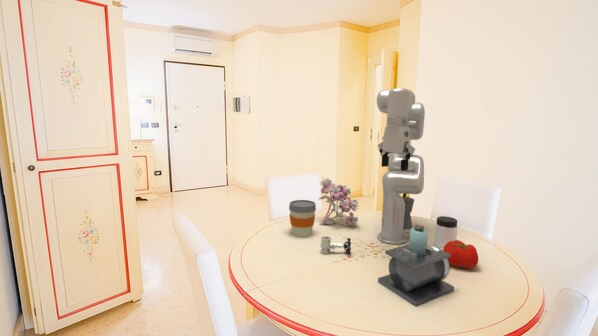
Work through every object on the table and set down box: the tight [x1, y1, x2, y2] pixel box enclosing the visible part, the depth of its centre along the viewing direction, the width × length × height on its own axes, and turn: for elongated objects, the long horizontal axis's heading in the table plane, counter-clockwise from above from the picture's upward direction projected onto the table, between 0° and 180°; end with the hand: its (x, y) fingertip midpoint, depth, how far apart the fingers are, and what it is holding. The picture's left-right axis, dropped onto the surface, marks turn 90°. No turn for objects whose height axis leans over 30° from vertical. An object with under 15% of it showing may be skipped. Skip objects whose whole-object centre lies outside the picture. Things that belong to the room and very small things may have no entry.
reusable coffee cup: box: [288, 199, 317, 238], centre depth 152 cm, size 13×13×15 cm
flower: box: [318, 176, 359, 227], centre depth 165 cm, size 20×22×25 cm
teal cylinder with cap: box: [408, 224, 429, 256], centre depth 105 cm, size 5×5×9 cm
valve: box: [320, 235, 352, 255], centre depth 132 cm, size 7×7×12 cm
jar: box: [433, 215, 458, 249], centre depth 142 cm, size 9×8×12 cm
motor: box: [377, 243, 455, 307], centre depth 106 cm, size 18×16×13 cm
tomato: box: [442, 239, 479, 269], centre depth 123 cm, size 13×12×8 cm
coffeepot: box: [401, 193, 415, 230], centre depth 164 cm, size 15×9×18 cm, turn 162°
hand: (394, 168), depth 123 cm, fingers open, 9 cm apart
